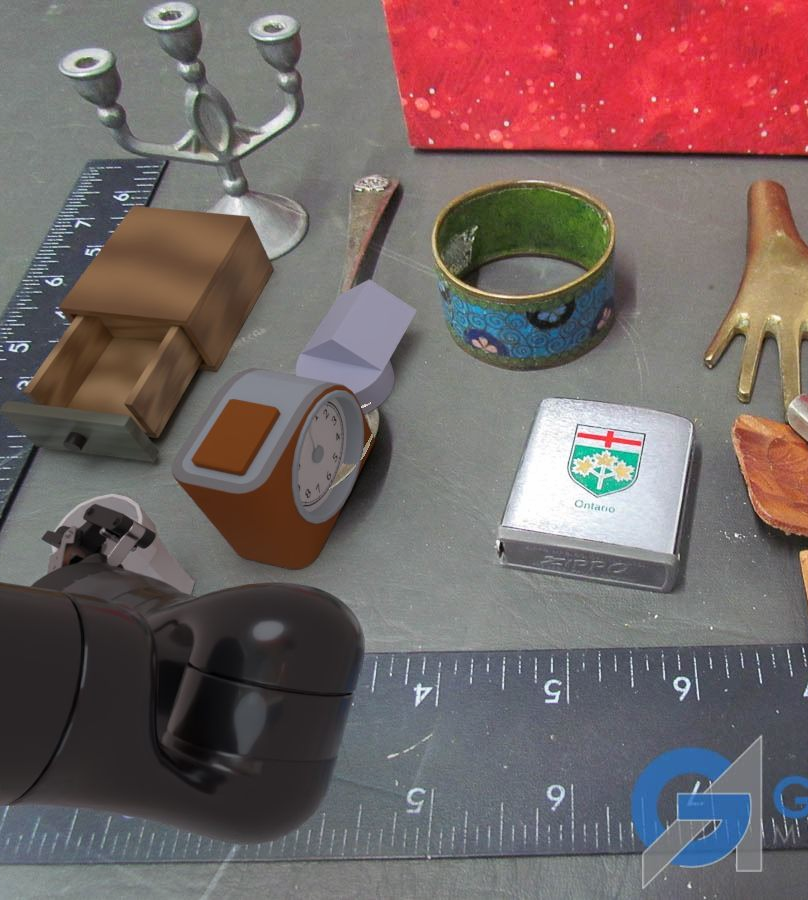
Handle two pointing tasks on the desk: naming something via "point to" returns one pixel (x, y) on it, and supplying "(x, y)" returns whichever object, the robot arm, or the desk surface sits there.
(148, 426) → the drawer
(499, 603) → the desk surface
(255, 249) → the cabinet
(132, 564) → the cup
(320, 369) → the wedge on round base
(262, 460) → the alarm clock
